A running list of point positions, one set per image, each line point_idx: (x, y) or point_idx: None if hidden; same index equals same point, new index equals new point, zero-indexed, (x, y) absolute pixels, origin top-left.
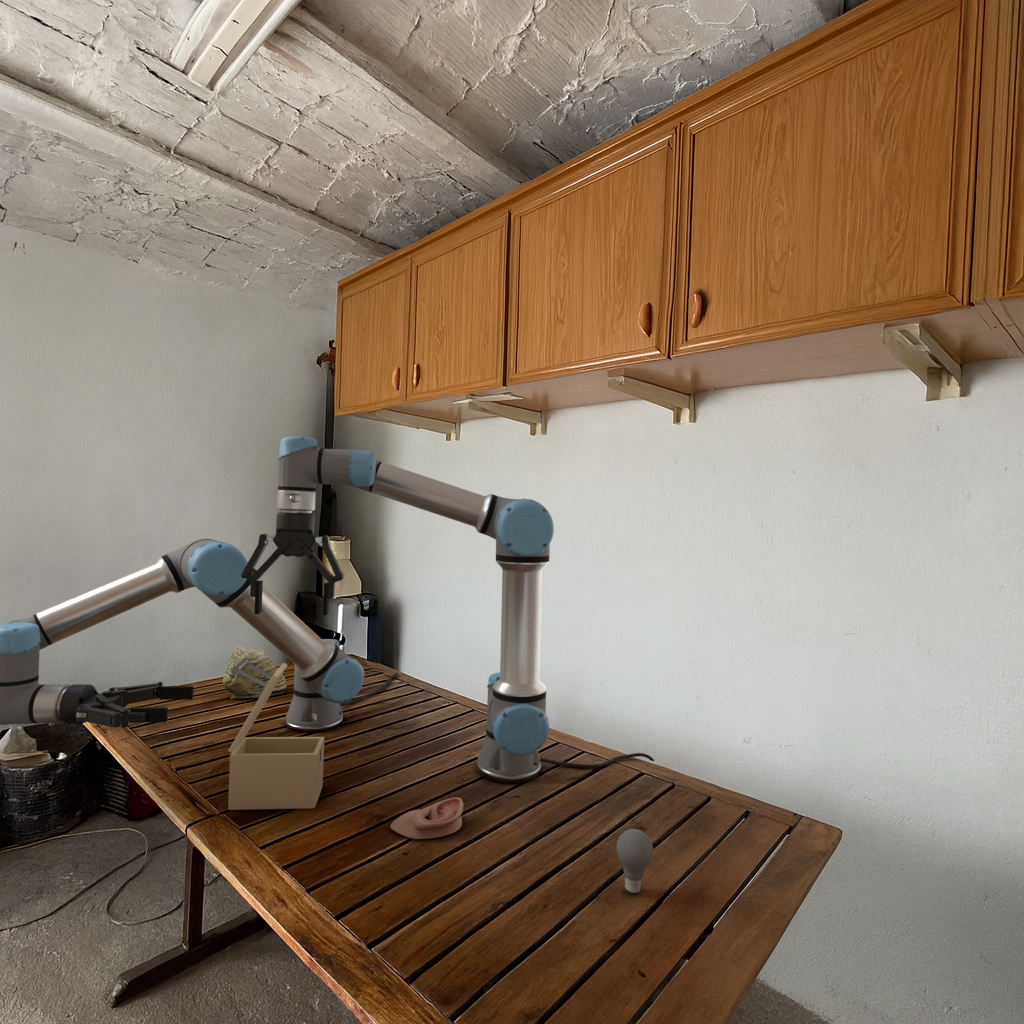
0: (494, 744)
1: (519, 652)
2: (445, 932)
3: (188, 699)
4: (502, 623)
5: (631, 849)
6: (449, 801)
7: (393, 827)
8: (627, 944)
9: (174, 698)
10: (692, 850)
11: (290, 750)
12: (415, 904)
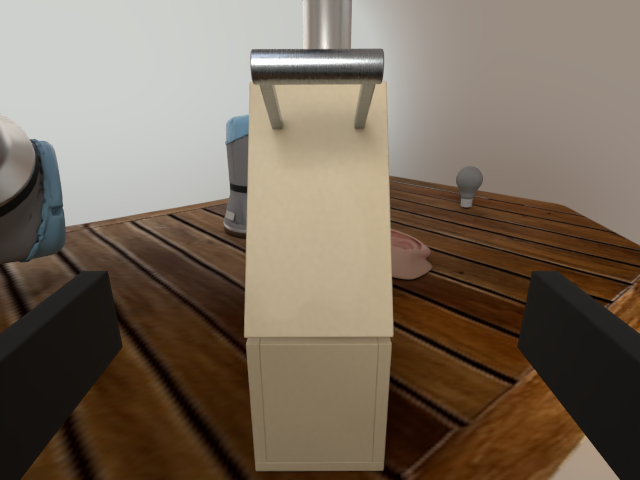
0: None
1: None
2: (572, 256)
3: (112, 359)
4: (333, 21)
5: (481, 174)
6: None
7: (415, 275)
8: (524, 213)
9: (55, 423)
10: (405, 194)
11: None
12: (546, 267)
